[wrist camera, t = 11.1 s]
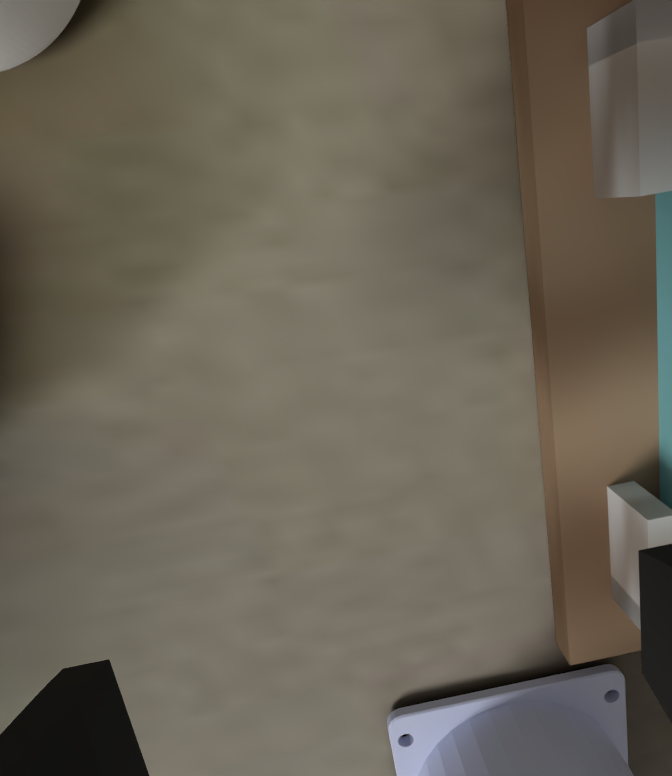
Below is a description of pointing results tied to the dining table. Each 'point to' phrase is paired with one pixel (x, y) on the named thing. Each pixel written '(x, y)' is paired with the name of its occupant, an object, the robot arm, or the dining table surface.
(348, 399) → the dining table surface
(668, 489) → the teal rectangular block
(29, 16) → the beverage can
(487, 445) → the dining table surface
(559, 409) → the wooden bracket tray
